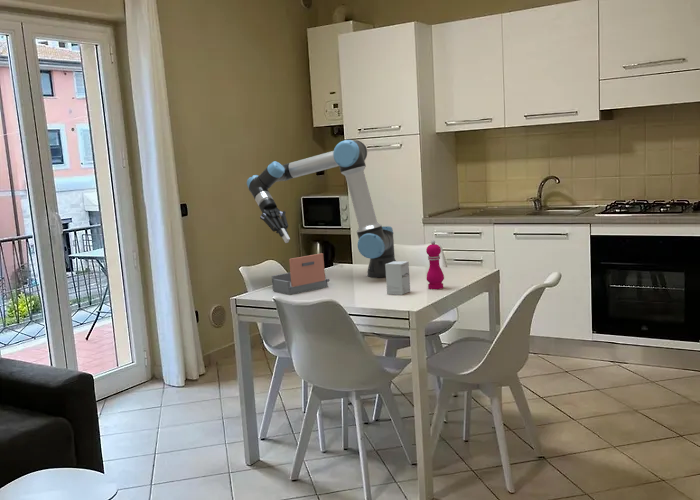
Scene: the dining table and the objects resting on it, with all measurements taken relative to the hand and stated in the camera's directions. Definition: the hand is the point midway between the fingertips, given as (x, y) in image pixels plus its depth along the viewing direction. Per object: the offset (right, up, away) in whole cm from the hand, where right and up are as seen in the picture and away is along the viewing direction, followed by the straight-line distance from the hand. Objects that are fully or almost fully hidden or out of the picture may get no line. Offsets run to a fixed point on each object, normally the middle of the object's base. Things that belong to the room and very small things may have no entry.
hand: (287, 240), depth 315 cm
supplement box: (+48, -22, -28) cm, 60 cm away
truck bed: (+6, -22, -4) cm, 23 cm away
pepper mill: (+64, -20, -24) cm, 71 cm away
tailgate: (+10, -19, -9) cm, 23 cm away
